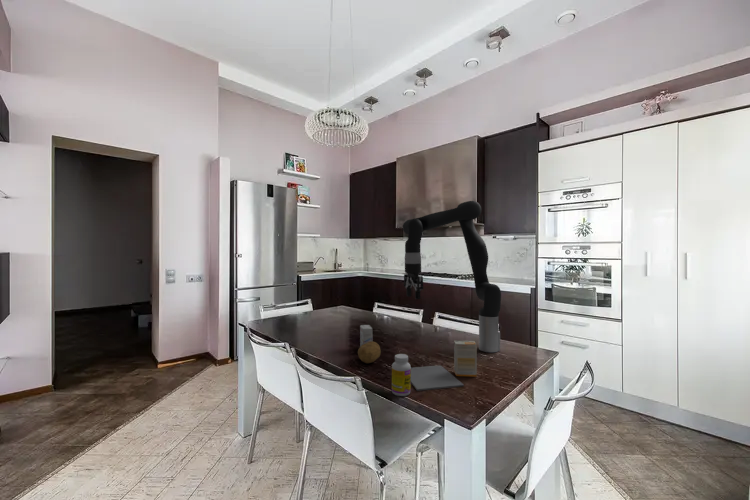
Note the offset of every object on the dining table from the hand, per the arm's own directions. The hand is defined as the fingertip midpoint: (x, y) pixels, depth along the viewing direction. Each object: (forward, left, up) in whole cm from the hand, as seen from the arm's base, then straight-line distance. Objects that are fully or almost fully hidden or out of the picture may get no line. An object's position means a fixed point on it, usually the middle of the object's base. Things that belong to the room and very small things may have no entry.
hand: (413, 297), depth 147 cm
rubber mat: (+1, +23, -28) cm, 36 cm away
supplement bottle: (+16, +33, -28) cm, 46 cm away
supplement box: (-14, +23, -28) cm, 39 cm away
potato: (+21, +1, -28) cm, 35 cm away
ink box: (+19, -15, -28) cm, 37 cm away
